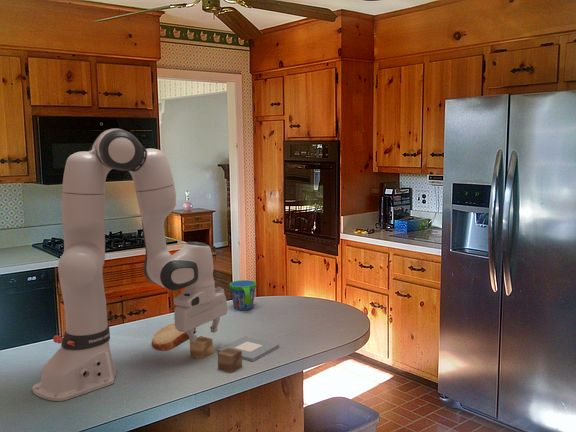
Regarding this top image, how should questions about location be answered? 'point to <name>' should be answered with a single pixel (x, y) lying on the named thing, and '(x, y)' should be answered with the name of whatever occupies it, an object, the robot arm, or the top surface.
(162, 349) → the slice of bread
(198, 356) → the pine cube
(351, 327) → the top surface
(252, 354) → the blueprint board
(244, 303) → the snack cup
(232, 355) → the walnut cube
